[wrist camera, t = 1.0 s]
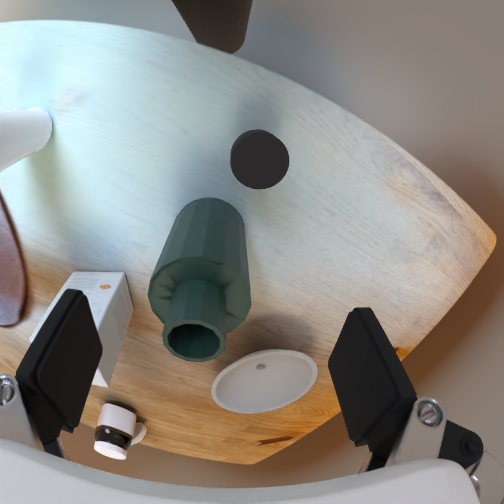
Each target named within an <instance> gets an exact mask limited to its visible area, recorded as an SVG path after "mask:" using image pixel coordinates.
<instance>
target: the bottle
mask: <svg viewBox="0 0 504 504" xmlns="http://www.w3.org/2000/svg"><path fill="white" fill-rule="evenodd" d="M148 298H149V301H150V305H151V308H152V311H153V312H154V313H155V315H156V316H157V317H158V318H159V319H160V320H161V322H162V323H163V324H164V329H163V333H162V337H163V343H164V346H165V347H166V348H167V349H168V350H169V351H170V352H171V353H172V354H173V355H174V356H176V357H179V358H181V359H184V360H186V361H193V362H205V361H208V360H212V359H215V358H217V357H218V356H219V355H220V354H221V353H222V352H223V351H224V350H225V341H226V333H228V332H230V331H232V330H234V329H235V328H236V327H237V326H238V325H240V324H241V323H242V322H243V321H244V320H245V318H246V316H247V314H248V312H249V310H250V308H251V293H250V282H249V272H248V262H247V252H246V241H245V231H244V223H243V221H242V218H241V216H240V214H239V213H238V212H237V210H236V209H235V208H234V207H233V206H231V205H230V204H229V203H227V202H225V201H223V200H220V199H216V198H201V199H198V200H195V201H193V202H191V203H189V204H188V205H186V206H185V207H184V208H183V209H182V210H181V212H180V213H179V215H178V216H177V218H176V220H175V222H174V225H173V227H172V229H171V231H170V234H169V236H168V238H167V241H166V243H165V245H164V248H163V250H162V252H161V255H160V257H159V260H158V262H157V265H156V267H155V270H154V272H153V275H152V277H151V280H150V285H149V290H148Z"/></svg>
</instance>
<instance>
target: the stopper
mask: <svg viewBox="0 0 504 504" xmlns="http://www.w3.org/2000/svg"><path fill="white" fill-rule="evenodd" d="M230 163H231V169H232V172H233V174H234V176H235V177H236V178H237V180H238V181H239V182H241V183H242V184H243V185H245V186H247V187H250V188H253V189H266V188H269V187H272V186H274V185H276V184H277V183H278V182H280V181H281V180H282V179H283V177H284V176H285V174H286V172H287V170H288V167H289V155H288V151H287V149H286V147H285V145H284V144H283V143H282V142H281V141H280V140H279V139H278V138H277V137H275V136H274V135H273V134H271V133H269V132H267V131H264V130H250V131H247V132H245V133H243V134H242V135H240V136H239V137H238V138H237V139H236V140H235V142H234V144H233V146H232V149H231V159H230Z"/></svg>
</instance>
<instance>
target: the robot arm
mask: <svg viewBox="0 0 504 504" xmlns="http://www.w3.org/2000/svg"><path fill="white" fill-rule="evenodd" d="M102 353H103V346H102V343H101V340H100V337H99V334H98V331H97V328H96V325H95V322H94V319H93V315H92V312H91V308H90V305H89V301H88V298H87V296H86V295H84V293H83V291H82V290H77V289H70V288H68V289H66V290H65V291H64V293H63V294H62V296H61V297H60V299H59V300H58V302H57V303H56V305H55V306H54V308H53V309H52V311H51V312H50V314H49V315H48V317H47V318H46V320H45V322H44V323H43V325H42V326H41V328H40V330H39V331H38V333H37V335H36V336H35V338H34V340H33V342H32V343H31V345H30V347H29V349H28V350H27V352H26V354H25V356H24V358H23V359H22V361H21V363H20V365H19V367H18V369H17V371H16V376H15V378H14V377H13V376H11V375H10V374H5V373H4V374H0V504H503V502H504V465H503V464H501V463H500V462H499V461H498V460H497V459H496V458H495V457H494V456H493V455H492V454H490V453H489V452H488V451H487V450H485V451H484V452H483V443H482V440H481V438H480V437H479V436H478V435H477V434H476V433H474V432H472V431H470V430H468V429H465V428H463V427H461V426H459V425H457V424H455V423H453V422H451V421H449V420H447V413H446V410H445V408H444V406H443V404H442V403H441V402H440V401H439V400H437V399H435V398H433V397H430V396H426V397H425V396H424V397H421V398H419V399H417V397H416V395H417V394H416V392H415V390H414V388H413V386H412V384H411V381H410V380H409V377H408V376H407V373H406V372H405V370H404V368H403V366H402V364H401V362H400V360H399V358H398V356H397V354H396V352H395V350H394V348H393V347H392V345H391V343H390V341H389V339H388V337H387V335H386V334H385V332H384V330H383V328H382V326H381V325H380V323H379V321H378V319H377V318H376V316H375V314H374V312H373V311H372V309H371V308H369V307H361V308H354V309H353V311H352V312H349V314H348V316H347V319H346V321H345V323H344V326H343V328H342V331H341V333H340V335H339V338H338V340H337V342H336V344H335V347H334V349H333V351H332V353H331V356H330V358H329V361H328V368H329V371H330V374H331V378H332V381H333V384H334V387H335V390H336V394H337V397H338V400H339V404H340V407H341V410H342V414H343V417H344V420H345V424H346V427H347V431H348V434H349V438H350V439H351V440H352V441H354V442H355V446H356V447H358V446H363V445H367V444H368V447H369V450H370V452H369V453H368V455H367V458H366V459H365V461H364V463H363V465H362V467H361V469H360V471H359V473H358V474H356V475H351V476H347V477H341V478H336V479H331V480H326V481H320V482H314V483H306V484H299V485H290V486H279V487H264V488H207V487H193V486H182V485H172V484H165V483H158V482H152V481H146V480H140V479H135V478H130V477H125V476H121V475H116V474H113V473H109V472H105V471H101V470H98V469H94V468H91V467H87V466H84V465H81V464H78V463H74V462H71V461H70V459H69V457H68V455H67V453H66V451H65V448H64V446H63V444H62V442H61V439H60V437H59V435H60V431H61V430H64V431H67V432H70V433H73V430H74V427H77V426H78V425H79V422H80V419H81V415H82V412H83V409H84V406H85V402H86V399H87V396H88V393H89V390H90V387H91V384H92V382H93V379H94V376H95V373H96V370H97V368H98V365H99V362H100V359H101V357H102Z"/></svg>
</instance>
